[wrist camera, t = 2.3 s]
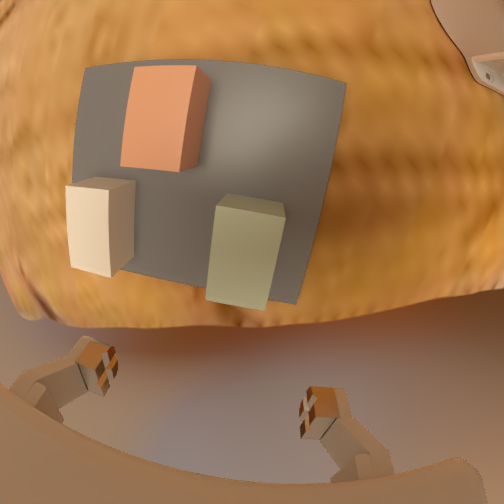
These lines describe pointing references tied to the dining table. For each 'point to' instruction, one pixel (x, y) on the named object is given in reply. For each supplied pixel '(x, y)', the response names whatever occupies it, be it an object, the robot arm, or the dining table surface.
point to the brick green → (244, 250)
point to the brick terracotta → (165, 117)
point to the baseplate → (202, 172)
